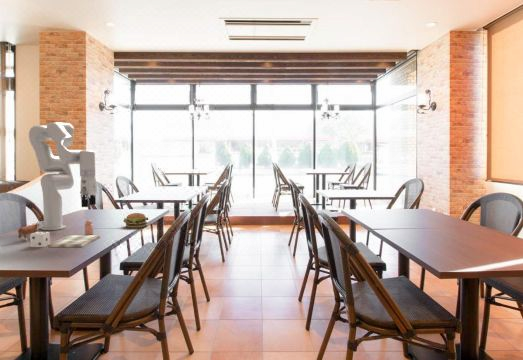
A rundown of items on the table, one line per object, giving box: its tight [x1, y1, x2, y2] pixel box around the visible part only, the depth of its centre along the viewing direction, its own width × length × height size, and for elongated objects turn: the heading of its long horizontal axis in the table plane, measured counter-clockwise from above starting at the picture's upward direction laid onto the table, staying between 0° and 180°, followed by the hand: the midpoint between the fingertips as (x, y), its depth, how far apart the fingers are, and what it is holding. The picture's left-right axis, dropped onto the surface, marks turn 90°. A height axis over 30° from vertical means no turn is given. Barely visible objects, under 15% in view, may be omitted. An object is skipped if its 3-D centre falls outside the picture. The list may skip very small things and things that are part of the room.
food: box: [122, 212, 149, 229], centre depth 240 cm, size 14×14×8 cm
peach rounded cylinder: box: [84, 219, 94, 235], centre depth 214 cm, size 4×4×8 cm
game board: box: [47, 234, 101, 248], centre depth 198 cm, size 16×21×1 cm
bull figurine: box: [17, 221, 43, 242], centre depth 203 cm, size 4×13×8 cm, turn 161°
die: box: [29, 231, 51, 248], centre depth 190 cm, size 6×6×6 cm
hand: (88, 205), depth 213 cm, fingers open, 9 cm apart
